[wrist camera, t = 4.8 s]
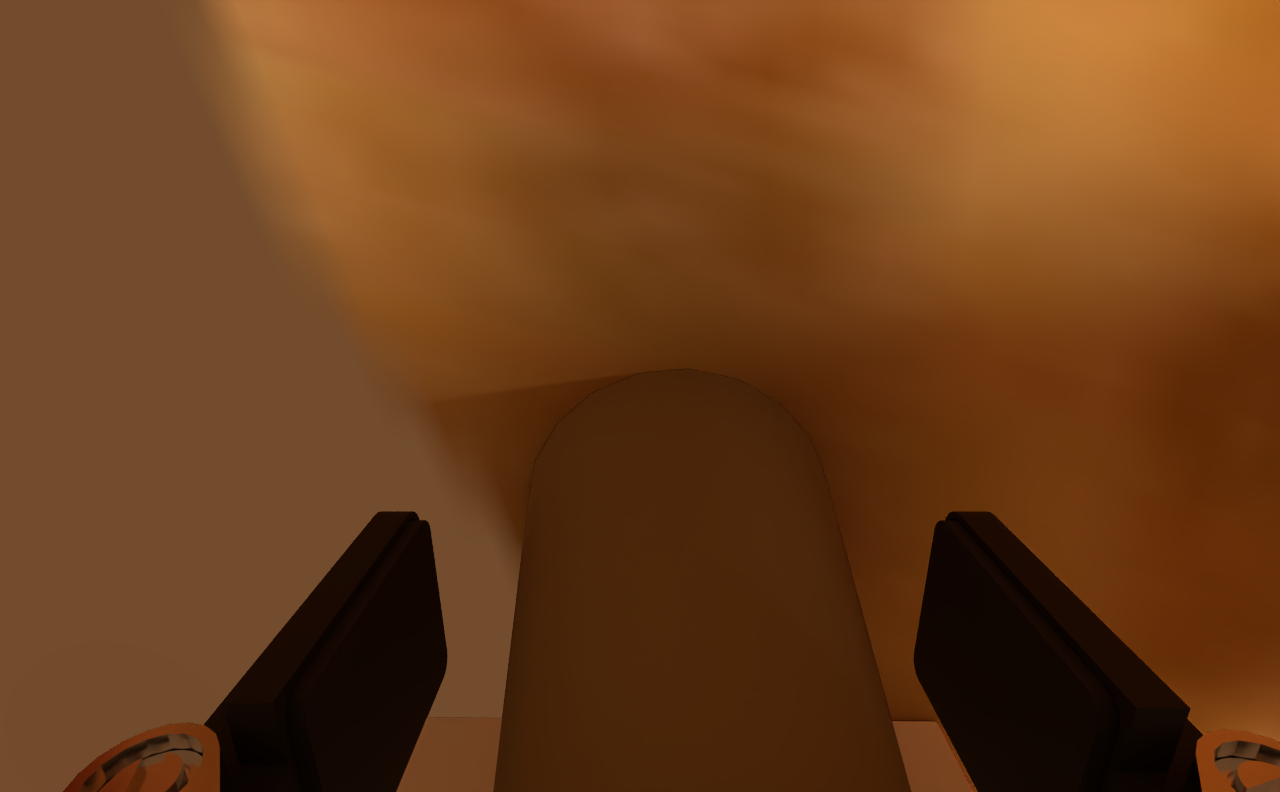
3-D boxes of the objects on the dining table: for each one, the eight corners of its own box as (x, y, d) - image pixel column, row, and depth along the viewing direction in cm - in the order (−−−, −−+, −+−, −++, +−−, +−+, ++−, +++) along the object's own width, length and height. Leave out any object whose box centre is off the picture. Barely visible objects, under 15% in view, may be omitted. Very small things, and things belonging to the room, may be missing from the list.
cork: (798, 333, 11) (2226, 1863, 1) (848, 602, 13) (1539, 2099, 3) (486, 411, 12) (-541, 1852, 2) (576, 657, 14) (355, 2053, 4)
